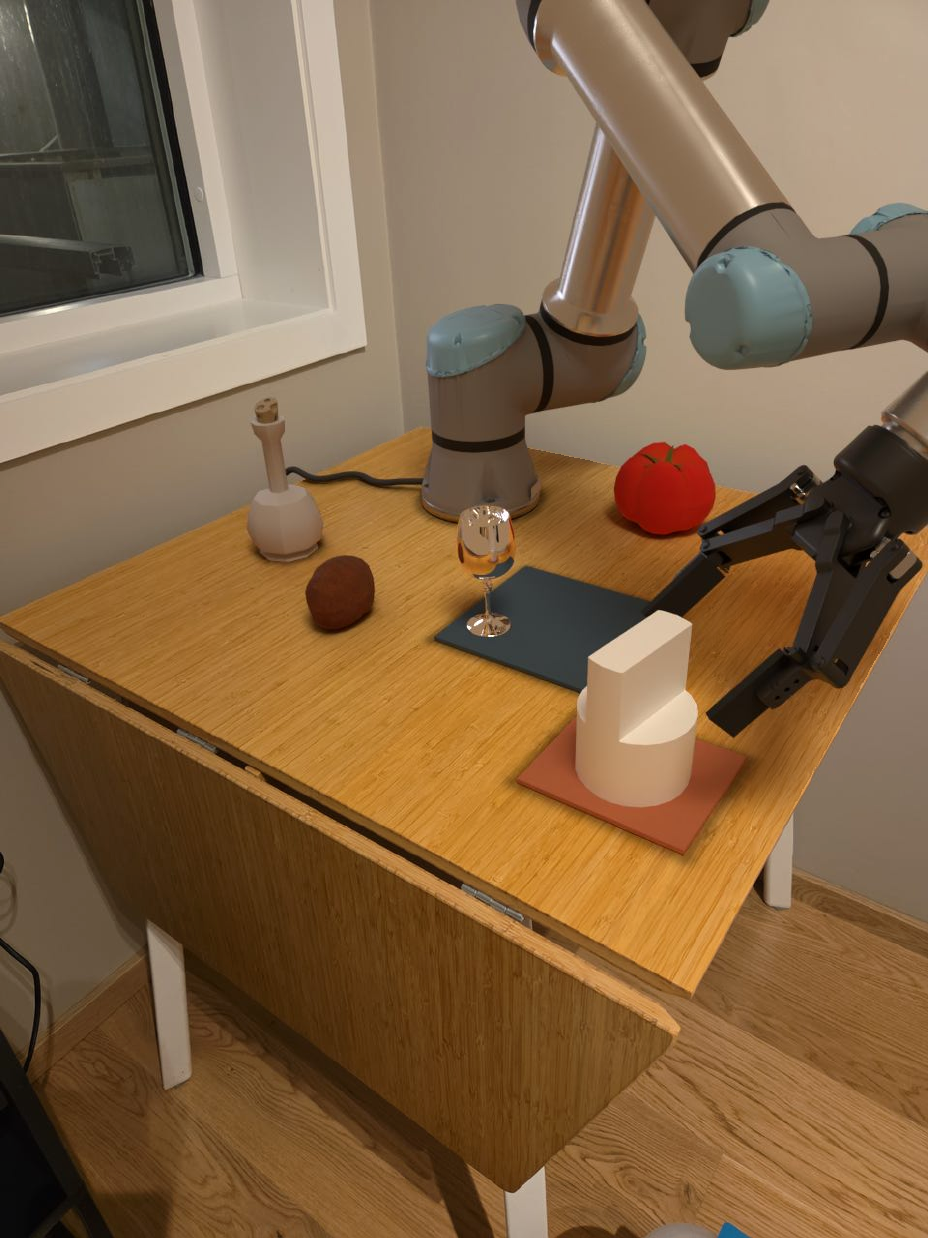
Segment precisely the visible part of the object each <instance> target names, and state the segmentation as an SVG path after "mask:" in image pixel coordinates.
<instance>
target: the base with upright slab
mask: <svg viewBox="0 0 928 1238" xmlns="http://www.w3.org/2000/svg"><path fill="white" fill-rule="evenodd" d="M692 631H693V623H692V622H691V621H690V620H687V619H685V618H684V617H682V618H681V617H679V616H677V615H674V614H671V613H668V612H665V611H661V610H658V611H656V612H655V613H653V614H652V615H650V616H649V617H647V618H646V619H644V620H643V621H641V622H640V623H638V624H637V625H635V626H634V627H632V628H631V629H629V630H628V631H626V632H625V633H623V634H622V635H620V636H619V637H617V638H616V639H614V640H613V641H611V642H610V643H608V644H607V645H605V646H604V647H602V648H601V649H599V650H598V651H596V652H595V653H593V654H592V655H590V656H589V657H588V675H587V686H586V687H585V688H584V689H583V690H582V691H581V693H580V692H579V695H578V696H577V701H576V702H577V704H576V716H577V729H576V766H575V769H576V772H577V775H578V778H579V780H580V781H581V782H582V783H583V785H584V786H585V787H586V788H587V789H588V790H589V791H591V792H592V793H593V794H595V795H596V796H597V797H600V798H602V799H604V800H606V801H608V802H610V803H614V804H618V805H622V806H629V807H648V806H657V805H660V804H663V803H666V802H669V801H671V800H672V799H674V798H676V797H677V796H679V795H680V794H681V793H682V792H683V791H684V790H685V788H686V787H687V786H688V784H689V780H690V777H691V771H692V762H693V754H694V745H695V738H696V734H697V727H698V718H699V711H698V704H697V701H695V699H694V697H693V695H692V694H691V693H689V692H688V690H686V688H687V680H688V670H689V661H690V653H691V651H690V650H691V641H692Z"/></svg>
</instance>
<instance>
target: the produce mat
mask: <svg viewBox="0 0 928 1238" xmlns="http://www.w3.org/2000/svg"><path fill="white" fill-rule="evenodd" d="M576 729H577V715H576V716H574V718H573V719H571V721H570V722H568V723H567V725H566V726H564V728H562V730H561V731H560V732H559V733H558V734H557V736H556V737H554V739H553V740H552V741H551V742H550V743H549V744H548V745H547V746H546V747H545V748H544V749H543V750H542V752H541V753H539V755H538V756H537V757H536V758H535V759H534V760H532V762H531V763H530V764H529V765H528V766H527V767H526V769H524V770H523V772H522V773H521V774H520V775H519V776H518V777H517V778H516V783H517V784H519V785H521V786H523V787H526V788H528V789H530V790H532V791H535V792H537V793H540V794H542V795H544V796H545V797H548V798H551V799H553V800H556V801H557V802H560V803H562V804H564V805H567V806H569V807H571V808H574V809H576V810H578V811H581V812H583V813H585V814H587V815H590V816H591V817H592V816H593V817H595V818H596V819H598V820H601V821H603V822H606V823H608V824H610V825H612V826H615V827H617V828H620V829H622V830H624V831H627V832H629V833H631V834H634V835H636V836H639V837H641V838H643V839H645V840H647V841H650V842H652V843H655V844H656V845H659V846H661V847H664V848H666V849H668V850H671V851H673V852H675V853H677V854H680V855H682V856H685V855H686V853H687V851H688V849H689V848H690V847H691V846H692V844H693V842H694V841H695V839H696V838H697V836H698V834H699V833H700V832H701V830H702V828H703V827H704V825H705V824H706V822H707V821H708V819H709V818H710V817H711V815H712V813H713V811H714V810H715V809H716V807H717V806H718V804H719V803H720V801H721V799H722V798H723V796H724V795H725V794H726V792H727V790H728V789H729V787H730V786H731V784H732V783H733V781H734V780H735V778H736V777H737V776H738V774H739V772H740V770H741V769H742V768H743V766H744V764H745V763H746V762H747V756H746V755H743V754H740V753H737V752H735V751H732V750H730V749H727V748H724V747H721V746H718V745H716V744H712V743H710V742H707V741H705V740H702V739H699V738H696V737H695V745H694V754H693V762H692V771H691V777H690V780H689V784H688V786H687V787H686V788H685V790H684V791H683V792H682V793H681V794H680V795H679V796H677V797H676V798H674V799H672V800H671V801H669V802H666V803H663V804H660V805H657V806H648V807H629V806H622V805H618V804H614V803H610V802H608V801H606V800H604V799H602V798H600V797H597V796H596V795H595V794H593V793H592V792H591V791H589V790H588V789H587V788H586V787H585V786H584V785H583V783H582V782H581V781H580V780H579V778H578V775H577V772H576V769H575V766H576Z"/></svg>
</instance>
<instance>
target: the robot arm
mask: <svg viewBox="0 0 928 1238" xmlns="http://www.w3.org/2000/svg"><path fill="white" fill-rule="evenodd" d="M770 1H771V0H515V5H516V10H517V14H518V19H519V22H520V25H521V27H522V30H523V32H524V34H525V36H526V39H527V41H528V43H529V45H530V46H531V48H532V49H533V51H534V52H535V54H536V55H537V57H538V60H539V61H541V63H542V65H543V66H544V67H545V68H546V69H547V70H548V71H550V72H551V73H553V74H555V75H557V76H560V77H565V78H567V79H568V81H569V82H570V84H571V85H572V87H573V89H574V91H575V92H576V93H577V95H578V96H579V98H580V99H581V101H582V103H583V104H584V106H585V107H586V109H587V110H588V112H589V114H590V115H591V117H592V118H593V120H594V121H595V125H594V128H593V133H592V137H591V141H590V145H589V150H588V155H587V159H586V163H585V168H584V171H583V176H582V180H581V184H580V189H579V193H578V197H577V202H576V205H575V206H576V207H575V211H574V215H573V219H572V223H571V228H570V232H569V237H568V240H567V245H566V248H565V254H564V258H563V262H562V266H561V271H560V274H559V277H558V278H555V279H553V280H552V281H550V282H549V283H548V284H547V285H546V286H545V288H544V290H543V292H542V295H541V296H542V298H541V299H540V300H541V301H540V305H539V309H538V312H536V313H535V312H534V313H531V314H524V312H523V311H522V309H521V308H520V307H518V306H516V305H513V304H507V303H493V304H489V305H486V304H481V305H476V306H470V307H466V308H462V309H459V310H455V311H454V312H451V313H449V314H447V315H445V316H443V317H441V318H439V319H438V320H436V322H435V323H434V324H432V326H430V328H429V330H428V333H427V336H426V360H425V371H426V375H427V384H428V398H429V399H428V400H429V413H430V426H431V427H430V428H431V439H432V440H431V443H432V444H431V449H430V452H429V457H428V461H427V464H426V467H425V471H424V476H423V477H401V478H400V477H399V478H384V479H383V478H375V477H373V476H370V475H369V474H367V473H365V472H362V471H356V470H348V471H347V470H346V471H339V472H336V473H332V474H325V475H317V474H312V473H309V472H307V471H305V470H304V469H302V468H300V467H298V466H295V465H294V466H288V467H285V470H286V476H287V477H288V476H289V475H290V474H292V473H293V474H296V475H297V476H299V477H301V478H303V479H305V480H307V481H310V482H314V483H326V482H327V483H328V482H333V481H338V480H342V479H360V480H362V481H364V482H367V483H369V484H371V485H373V486H378V487H389V486H390V487H391V486H421V504H422V506H423V508H424V509H425V511H427V512H428V513H429V514H431V515H433V516H434V517H437V518H440V519H442V520H445V521H449V522H454V523H458V522H459V518H460V515H461V513H462V512H463V511H465V510H467V509H469V508H472V507H476V506H485V505H489V506H497V507H501V508H503V509H505V510H507V511H508V512H509V514H510V518H511V520H512V519H516V518H518V517H520V516H524V515H525V514H527V513H529V512H530V511H532V510H533V509H535V508H536V506H537V505H538V504H539V502H540V498H541V494H540V493H541V490H542V477H540V478H539V476H538V475H537V473H536V469H535V466H534V463H533V460H532V456H531V453H530V451H529V448H528V445H527V443H526V442H527V441H526V416H527V415H531V414H536V413H541V412H547V411H552V410H558V409H564V408H570V407H574V406H580V405H585V404H595V403H601V402H603V401H607V400H608V399H610V398H615V397H618V396H621V395H622V394H624V393H626V392H627V391H628V390H630V389H631V388H632V386H633V385H634V384H635V383H636V382H637V380H638V379H639V377H640V375H641V373H642V371H643V368H644V364H645V361H646V358H647V357H646V356H647V346H646V345H645V344H644V342H645V340H646V339H647V331H646V325H645V323H644V320H643V318H642V316H641V314H640V313H639V307H638V304H637V301H636V300H635V298H634V297H633V295H632V294H633V291H634V288H635V284H636V281H637V278H638V275H639V273H640V268H641V265H642V262H643V259H644V256H645V253H646V249H647V245H648V243H649V240H650V236H651V233H652V229H653V227H654V223H655V219H656V218H657V220H658V222H659V223H660V224H661V226H662V227H663V229H664V230H665V232H666V233H667V235H668V237H669V239H670V240H671V241H672V243H673V245H674V246H675V248H676V250H677V251H678V252H679V254H680V256H681V257H682V259H683V260H684V262H685V263H686V265H687V266H688V268H689V270H690V271H691V273H692V276H691V278H690V280H689V282H688V286H687V289H686V293H685V299H684V320H685V322H686V323H689V327H690V331H689V332H690V333H689V340H690V342H691V345H692V347H693V349H694V350H695V352H696V353H697V354H698V356H699V357H700V358H701V359H702V360H703V361H704V362H706V363H707V364H709V365H710V366H712V367H714V368H717V369H719V370H724V371H737V370H739V371H740V370H749V369H759V368H760V369H761V368H775V367H780V366H782V365H785V364H788V363H790V362H794V361H800V360H803V359H809V358H813V357H819V356H823V355H827V354H832V353H838V352H844V351H851V350H857V349H862V348H867V347H873V346H878V345H884V344H888V343H894V342H898V341H906V342H909V343H911V344H913V345H915V346H916V347H918V348H919V349H921V350H922V351H924V352H926V353H927V354H928V210H926V209H923V208H920V207H919V206H916V205H912V204H910V203H905V202H894V203H888V204H885V205H883V206H880V207H879V208H877V209H876V211H875V212H874V213H873V214H871V215H869V216H865V217H863V218H862V219H860V221H859V222H858V223H857V224H855V225H854V227H853V228H852V229H851V230H850V231H849V234H843V235H838V236H837V235H835V236H827V237H821V238H820V237H817V236H815V235H814V234H813V233H812V232H811V231H810V229H809V228H808V226H807V224H806V223H805V222H804V220H803V219H802V217H801V216H800V215H799V214H798V213H797V212H796V210H795V209H794V208H793V206H792V204H791V203H790V202H789V201H788V199H787V198H786V196H785V195H784V194H783V192H782V191H781V189H780V188H779V186H778V185H777V183H776V182H775V181H774V179H773V178H772V177H771V175H770V174H769V172H768V171H767V169H765V166H763V164H762V163H761V161H760V160H759V159H758V157H757V155H755V153H754V151H753V150H752V149H751V147H750V146H749V145H748V143H747V142H746V140H745V139H744V138H743V136H742V134H741V133H740V132H739V130H738V129H737V128H736V126H735V125H734V123H733V122H732V121H731V119H730V118H729V116H728V115H727V114H726V112H725V111H724V109H723V108H722V107H721V105H720V104H719V102H718V101H717V100H716V98H715V96H714V95H713V94H712V93H711V91H710V90H709V88H708V87H707V85H706V84H705V83H704V82H705V81H708V80H709V79H711V78H713V76H715V75H716V74H717V73H718V70H719V67H720V65H721V61H722V58H723V55H724V52H725V50H726V46H727V43H728V41H729V38H737V37H740V36H742V35H743V34H744V33H747V32H749V31H750V30H751V29H752V27H753V26H754V25H756V24H758V23H759V21H760V20H761V18H762V17H763V16H764V14H765V13H766V10H767V8H768V5H769V3H770ZM880 415H881V417H880V421H881V423H882V424H881V425H879V424H873V425H867V426H866V427H865V428H864V429H863V430H862V431H861V432H860V433H858V434H857V436H855V437H854V439H852V440H851V441H850V442H849V443H848V444H847V445H846V446H845V447H843V449H842V450H840V451H839V452H838V453H837V454H835V456H834V459H833V467H834V469H835V472H834V474H833V475H832V476H831V477H829V479H827V480H826V481H822V480H821V479H820V478H819V477H818V476H817V474H815V473H814V472H813V470H812V469H810V467H809V466H808V465H806V464H802V465H799V466H798V467H797V468H795V469H794V470H793V471H792V472H791V473H789V474H788V475H787V476H786V477H785V478H784V479H782V480H781V481H780V482H778V483H776V484H775V485H773V486H771V487H769V488H767V489H766V490H764V491H762V492H759V493H758V494H756V495H754V496H753V497H751V498H749V499H747V500H745V501H743V502H742V503H740V504H738V505H736V506H734V507H732V508H731V509H729V510H726V511H725V512H723V513H722V514H721V513H720V514H718V515H717V516H715V517H714V518H712V519H710V520H708V521H707V522H705V523H703V524H701V525H700V526H699V527H698V528H697V532H696V534H697V536H699V537H700V540H701V544H700V546H699V552H698V553H697V554H696V555H695V556H693V558H692V559H691V560H690V561H689V562H688V563H686V564H685V566H683V567H682V569H680V570H679V571H678V572H677V573H676V574H675V575H674V577H673V579H672V580H671V581H670V582H669V584H667V585H666V586H665V587H664V588H663V589H662V590H661V591H659V593H657V595H656V596H654V598H652V600H651V602H650V603H649V604H648V605H646V606H645V607H644V608H643V609H642V610H641V612H642V614H643V615H644V616H645V617H646V618H647V617H649V616H650V615H652V614H653V613H655V612H656V611H658V610H661V611H665V612H668V613H671V614H674V615H677V616H679V617H681V618H684V616H686V614H687V613H688V612H690V611H691V610H692V609H693V608H694V607H695V606H696V605H697V604H698V603H699V602H701V600H703V599H704V598H705V597H706V596H707V595H708V594H709V593H710V592H711V591H712V590H714V588H715V587H717V586H718V585H719V584H720V583H721V582H722V581H723V580H724V579H725V578H726V575H725V574H729V573H730V569H731V567H732V566H735V565H739V564H742V563H746V562H750V561H753V560H756V559H760V558H764V557H768V556H771V555H775V554H778V553H782V552H784V551H788V550H794V551H799V552H800V551H803V552H804V553H805V554H806V555H807V556H809V557H810V559H812V561H814V568H815V571H816V572H815V573H816V575H815V577H814V581H813V583H812V587H811V589H810V592H809V594H808V595H809V596H808V599H807V601H806V604H805V607H804V610H803V614H802V616H801V620H800V622H799V624H798V628H797V630H796V634H795V638H794V640H793V643H792V646H786V647H785V646H783V647H782V648H780V647H778V648H777V649H776V650H775V651H773V652H772V653H771V654H770V655H769V656H768V657H767V658H766V659H765V660H763V662H761V663H760V664H759V665H758V666H757V667H755V668H754V669H753V670H752V671H751V672H750V673H748V675H746V676H745V677H744V678H743V679H742V680H740V681H739V682H738V683H737V684H736V685H735V686H734V687H733V688H732V689H731V690H729V691H728V692H727V693H725V695H723V697H721V698H720V699H719V700H718V701H717V702H715V703H714V704H713V705H712V706H711V707H710V708H709V709H708V710H707V711H705V715H706V717H707V718H708V720H709V721H710V722H711V723H713V724H714V725H715V726H717V727H718V728H720V729H721V730H723V732H725V733H726V734H727V735H728V736H730V737H731V738H733V739H734V738H736V737H737V736H738V735H739V734H741V733H742V732H743V731H744V730H745V729H746V728H748V727H749V726H750V725H751V724H752V723H753V722H755V720H757V719H758V718H759V717H761V715H762V714H764V713H765V712H766V711H768V710H769V709H771V710H776V709H777V708H779V707H781V706H782V705H783V704H785V703H786V701H788V700H789V699H790V698H792V696H794V695H795V694H796V693H797V692H798V691H800V690H801V689H802V688H803V687H804V686H805V685H807V684H808V683H809V682H811V681H813V680H819V681H821V682H824V683H826V684H829V685H830V686H831V687H833V688H834V689H837V690H839V689H842V688H844V687H846V686H847V685H848V684H849V682H850V681H851V678H852V677H853V675H854V674H855V671H857V668H858V666H859V665H860V663H861V661H862V659H863V657H864V656H865V654H866V652H867V650H868V649H869V646H870V645H871V644H872V641H873V639H874V638H875V636H876V634H877V633H878V631H879V629H880V627H881V626H882V624H883V622H884V620H885V618H886V616H887V615H888V613H889V611H890V609H891V608H892V606H893V604H894V603H895V600H896V599H897V597H898V595H899V594H900V592H901V590H902V589H903V588H905V586H906V585H907V584H908V583H910V581H911V580H912V579H913V578H914V577H915V576H916V575H917V574H918V573H919V572H920V571H921V570H922V568H923V566H924V564H923V561H922V560H921V559H920V558H919V556H918V555H916V553H915V552H914V551H913V550H912V549H911V548H910V547H909V545H907V543H906V542H905V541H903V539H901V538H899V537H900V536H901V535H903V534H906V535H908V536H914V535H917V534H919V533H920V532H921V531H922V530H924V529H925V528H926V527H927V526H928V369H927V370H926V371H924V372H923V373H922V374H921V375H920V376H919V377H918V378H917V379H916V380H915V381H914V382H912V383H911V384H910V385H909V386H908V387H907V388H906V389H905V390H904V391H903V392H901V394H899V395H898V396H897V397H896V398H895V399H894V400H893V401H892V402H891V403H890V404H888V405H887V406H886V407H885V408H884V409H883V410H882V411H881V414H880ZM719 532H721V533H722V534H721V533H719ZM836 660H837V661H836Z"/></svg>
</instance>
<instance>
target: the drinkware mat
mask: <svg viewBox="0 0 928 1238" xmlns="http://www.w3.org/2000/svg"><path fill="white" fill-rule="evenodd" d="M651 601H652V600H651ZM651 601H650V600H647V599H644V598H640V597H636V596H633V595H629V594H626V593H622V592H619V591H616V590H613V589H609V588H606V587H602V586H598V585H595V584H591V583H588V582H584V581H582V580H578V579H574V578H570V577H566V576H564V575H560V574H557V573H553V572H549V571H546V570H543V569H539V568H535V567H533V566H529V565H524V566H523V567H522V568H520V569H519V570H518V571H517V572H515V573H514V574H513V575H511V576H510V577H508V578H507V579H506V580H504V582H502V583H501V584H500V585H498V586H497V587H496V588H495V589H492V591H491V595H490V608H491V613H498V614H501V615H504V616H506V617H507V618H508V619H509V620H510V622H511V627H510V629H509V630H508V631H507V632H506V633H504V634H502V635H499V636H495V637H480V636H476V635H474V634H472V633H470V632H469V631H468V629H467V626H466V625H467V622H468V620H469V619H470V618H472V617H473V616H475V615H478V614H482V613H486V600H485V596H484V597H483V598H482V599H480V600H479V601H478V602H476V603H475V604H474V605H473V606H471V607H470V608H469V609H467V610H466V611H465V612H463V613H462V614H461V615H460V616H458V617H457V618H456V619H455V620H453V621H452V622H450V623H449V624H448V625H447V626H445V627H444V628H442V629H441V630H440V631H439V632H438V633H437V634H434V635H433V640H434V641H435V642H437V643H441V644H444V645H446V646H449V647H451V648H455V649H457V650H459V651H462V652H465V653H468V654H471V655H473V656H476V657H480V658H482V659H484V660H485V659H486V660H487V661H491V662H494V663H497V664H499V665H501V666H504V667H507V668H510V669H513V670H516V671H518V672H521V673H524V674H527V675H530V676H532V677H536V678H537V679H540V680H544V681H545V682H549V683H552V684H555V685H557V686H561V687H563V688H565V689H569V690H572V691H573V692H577V693H579V694H580V693H581V691H582V690H583V689H584V688H585V687H586V686H587V675H588V657H589V656H590V655H592V654H593V653H595V652H596V651H598V650H599V649H601V648H602V647H604V646H605V645H607V644H608V643H610V642H611V641H613V640H614V639H616V638H617V637H619V636H620V635H622V634H623V633H625V632H626V631H628V630H629V629H631V628H632V627H634V626H635V625H637V624H638V623H640V622H641V621H643V620H644V619H646V617H645V616H644V615H643V614H642V612H641V610H642V609H643V608H644V607H645V606H646V605H648V604H649V603H650V602H651Z"/></svg>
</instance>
